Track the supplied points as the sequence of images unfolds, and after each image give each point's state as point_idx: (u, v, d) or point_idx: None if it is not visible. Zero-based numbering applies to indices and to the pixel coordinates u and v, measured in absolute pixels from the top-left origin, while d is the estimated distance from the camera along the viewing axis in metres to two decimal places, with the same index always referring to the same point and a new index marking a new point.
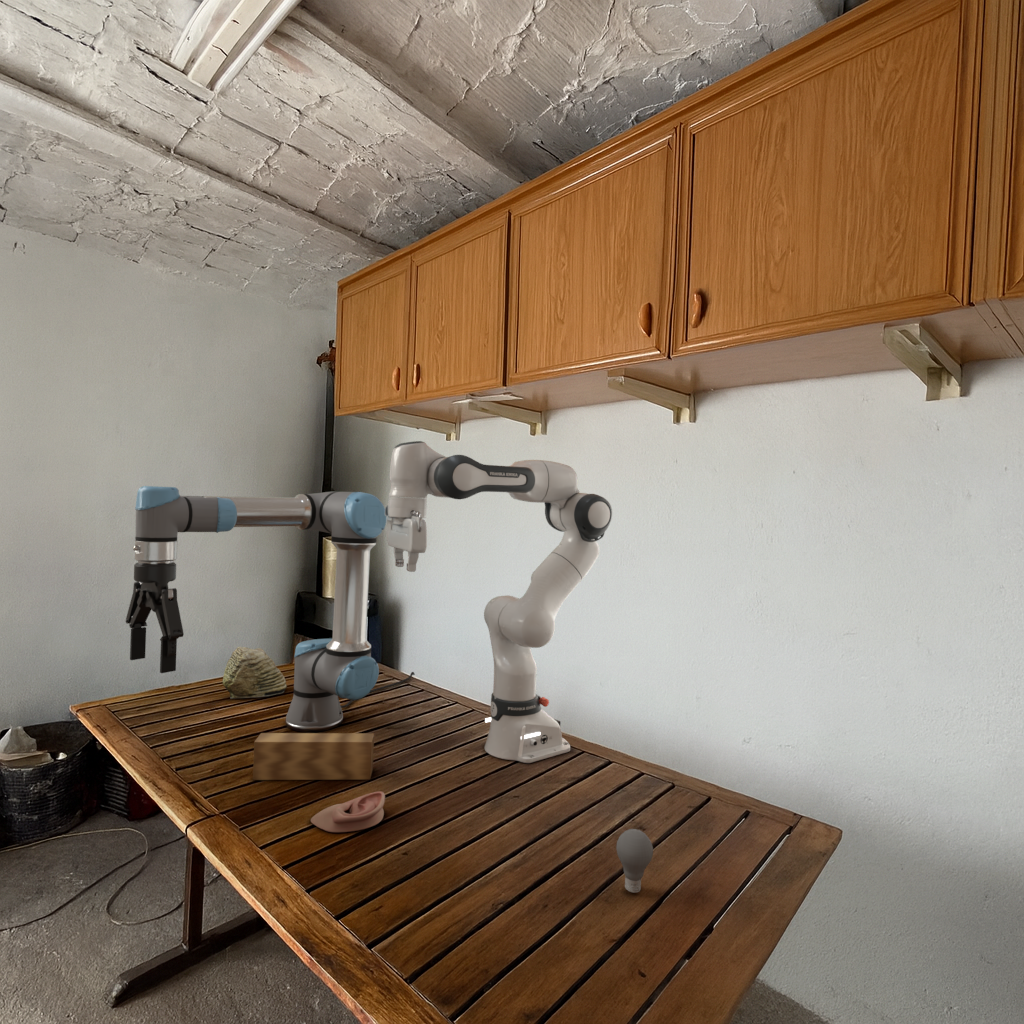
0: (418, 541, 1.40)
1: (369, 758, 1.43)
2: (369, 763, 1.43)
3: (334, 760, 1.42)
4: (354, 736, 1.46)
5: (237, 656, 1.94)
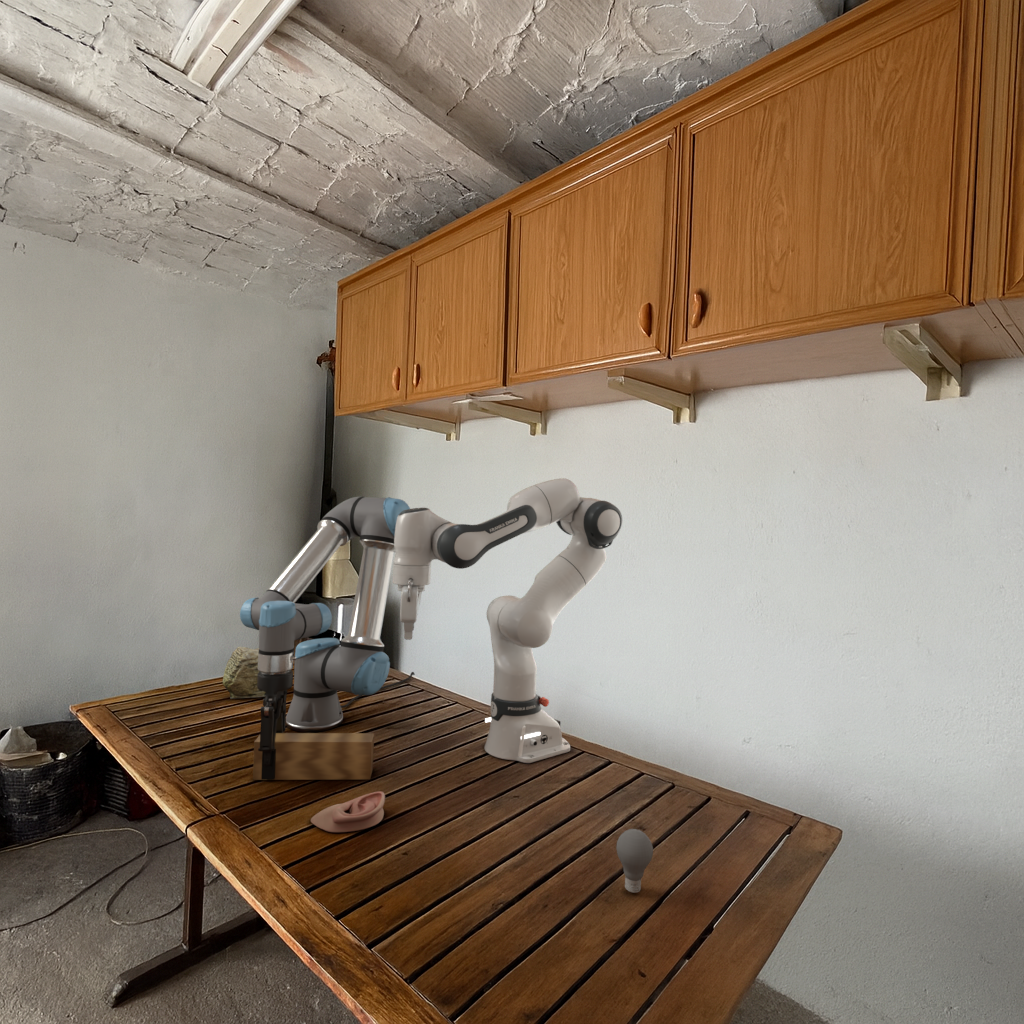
0: (407, 612, 1.40)
1: (369, 758, 1.43)
2: (369, 763, 1.43)
3: (334, 760, 1.42)
4: (354, 736, 1.46)
5: (237, 656, 1.94)
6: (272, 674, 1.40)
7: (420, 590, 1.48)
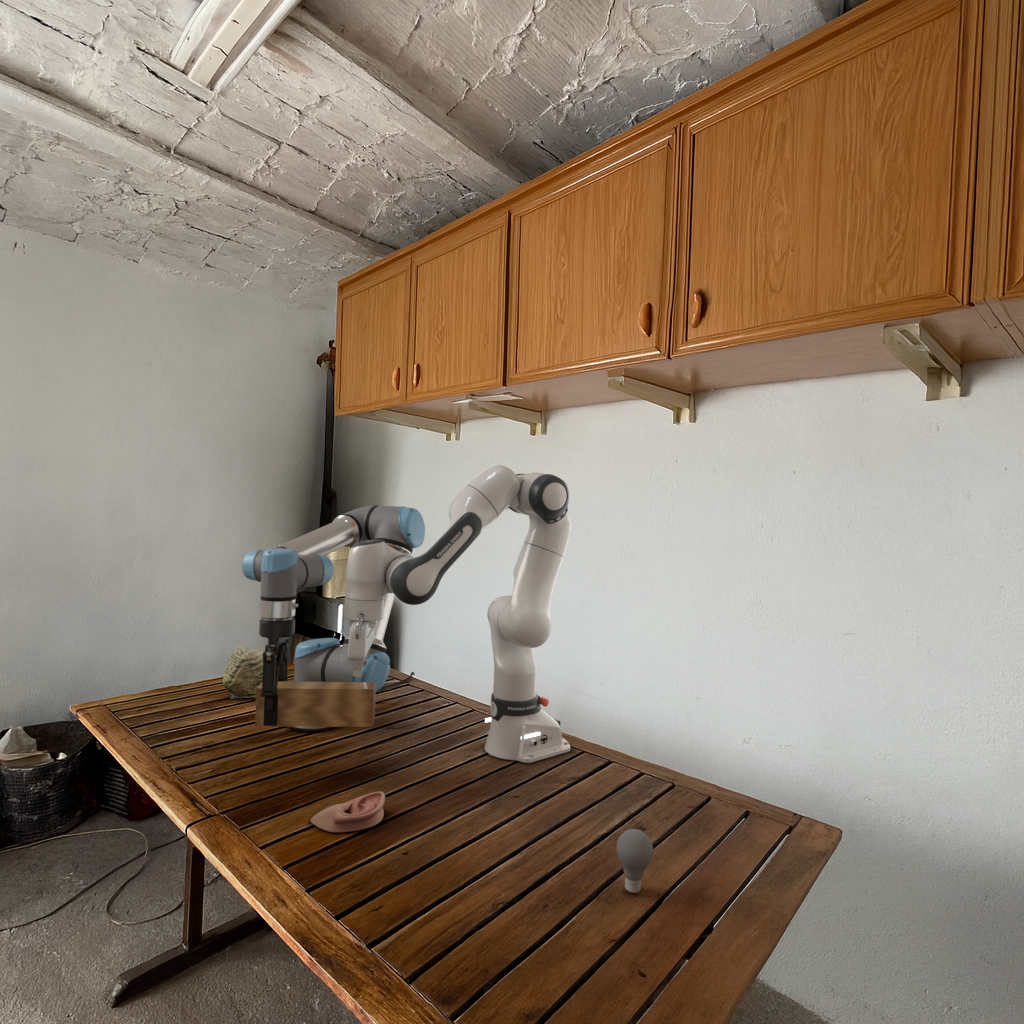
0: (355, 649, 1.35)
1: (371, 705, 1.43)
2: (371, 710, 1.43)
3: (336, 707, 1.42)
4: (356, 684, 1.46)
5: (237, 656, 1.94)
6: (274, 620, 1.39)
7: (372, 625, 1.43)
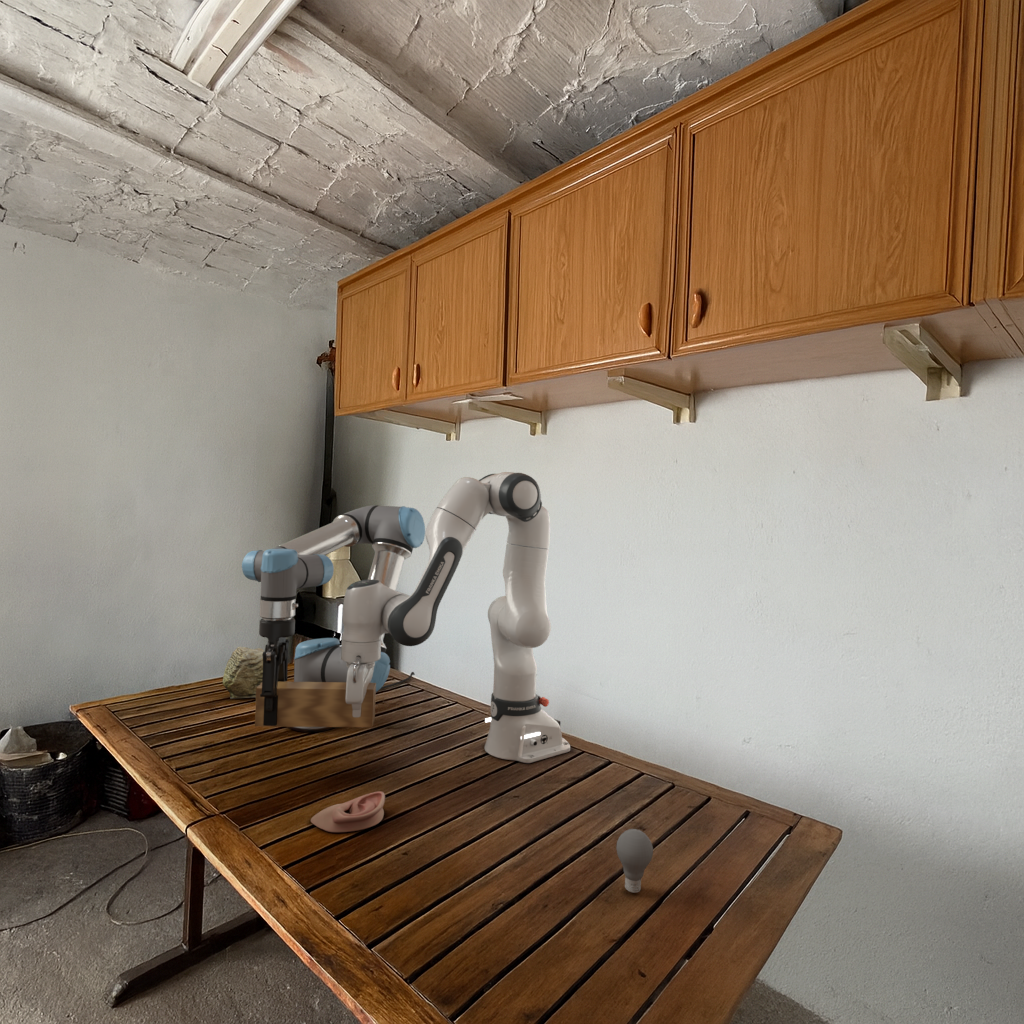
0: (353, 693, 1.35)
1: (371, 706, 1.42)
2: (371, 711, 1.42)
3: (336, 707, 1.42)
4: None
5: (237, 656, 1.94)
6: (274, 620, 1.39)
7: (369, 666, 1.43)
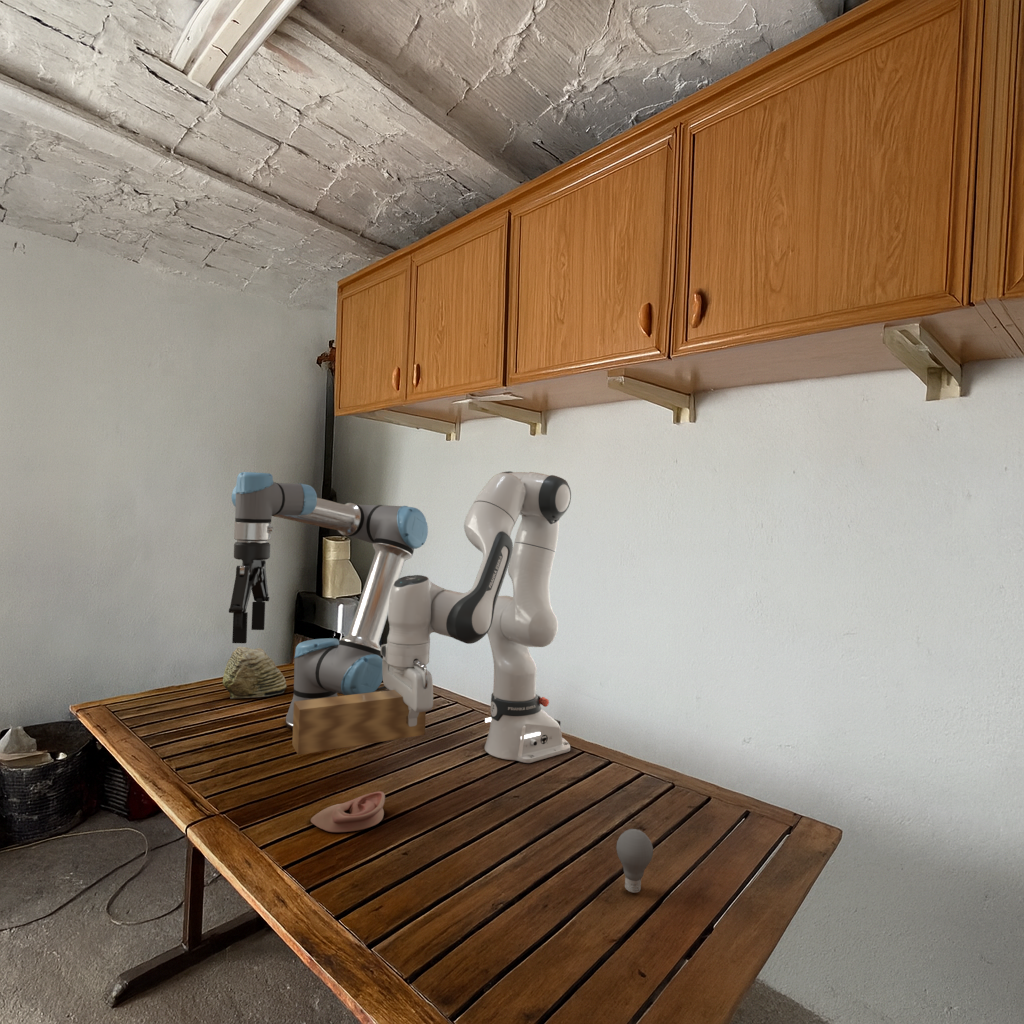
0: (424, 700, 1.23)
1: (424, 712, 1.31)
2: (424, 717, 1.31)
3: (388, 719, 1.27)
4: None
5: (237, 656, 1.94)
6: (248, 542, 1.38)
7: None
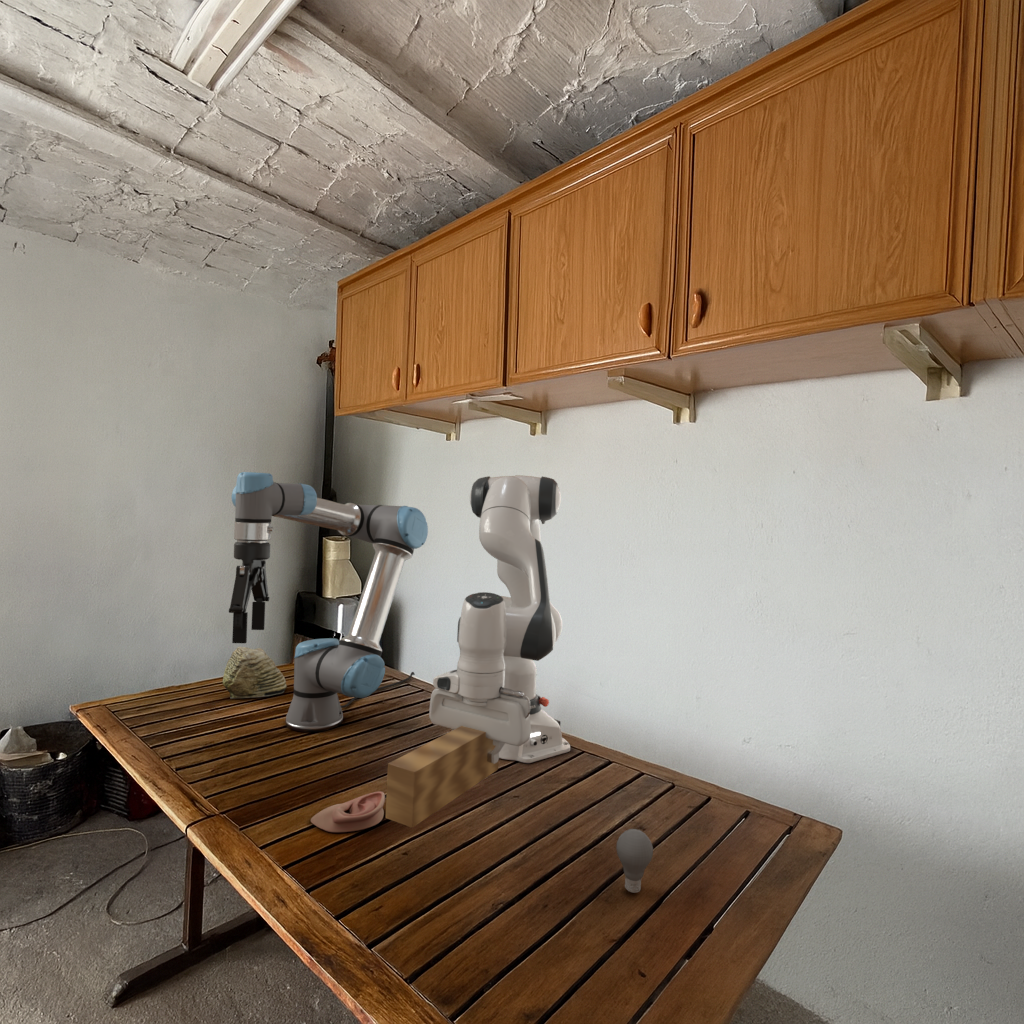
0: (526, 731, 1.11)
1: None
2: None
3: (475, 760, 1.11)
4: None
5: (237, 656, 1.94)
6: (248, 542, 1.38)
7: None
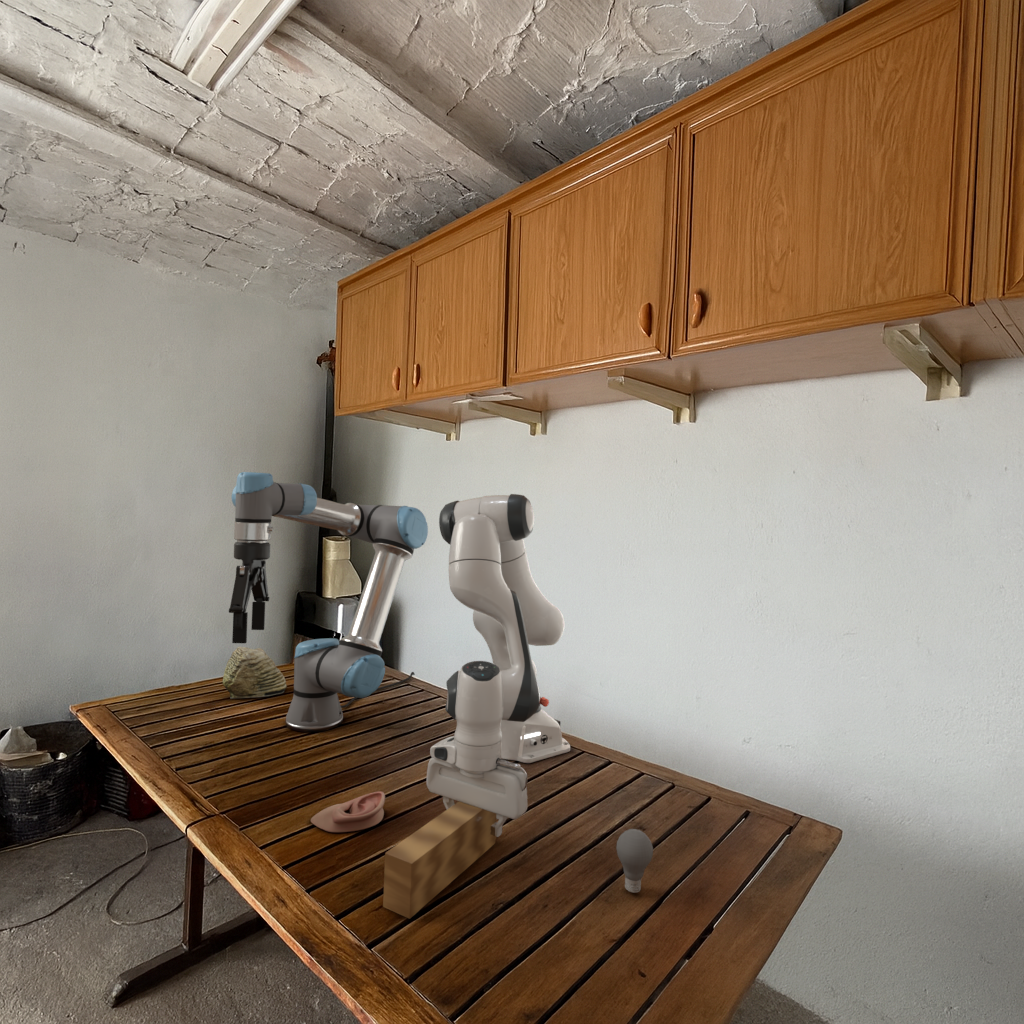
0: (523, 803, 1.11)
1: (495, 818, 1.18)
2: None
3: (472, 839, 1.11)
4: None
5: (237, 656, 1.94)
6: (248, 542, 1.38)
7: None
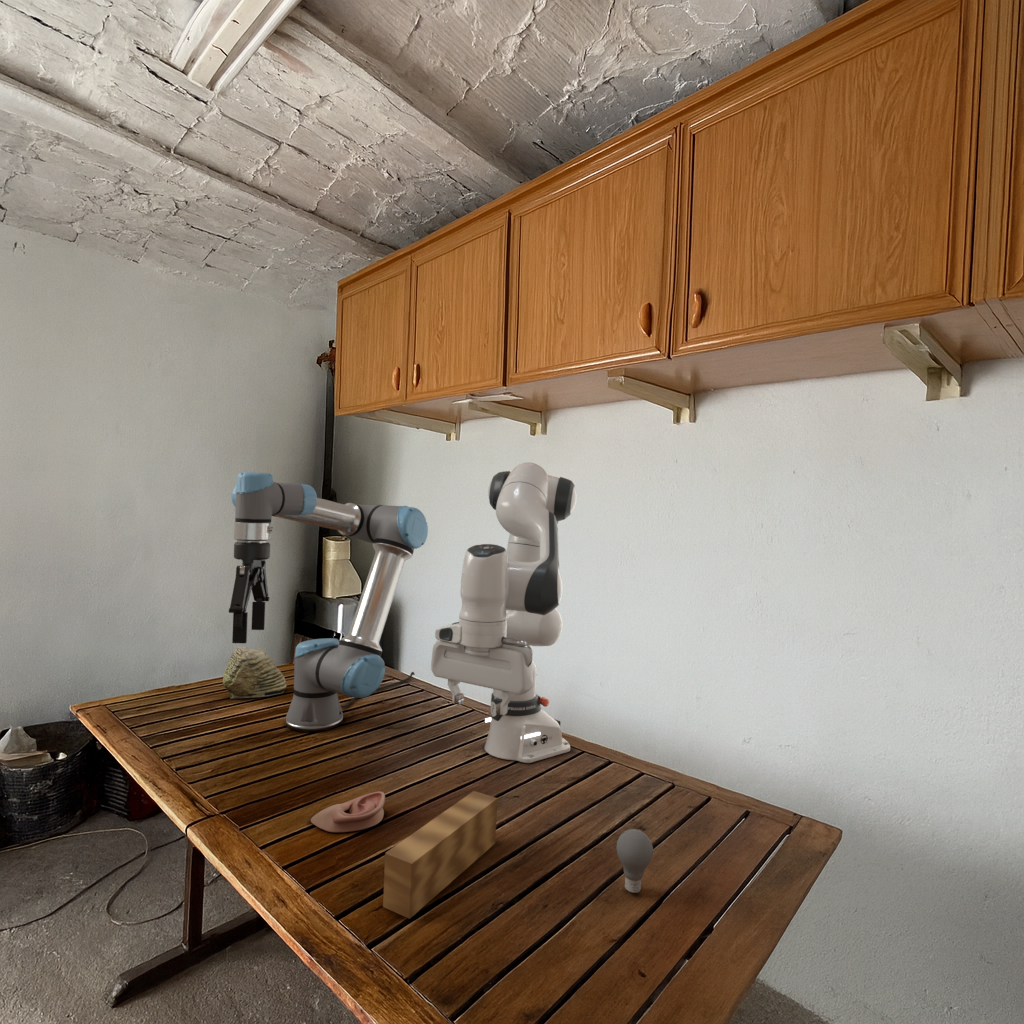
0: (528, 679, 1.11)
1: (495, 818, 1.18)
2: (495, 824, 1.18)
3: (472, 839, 1.11)
4: (469, 802, 1.16)
5: (237, 656, 1.94)
6: (248, 542, 1.38)
7: None
